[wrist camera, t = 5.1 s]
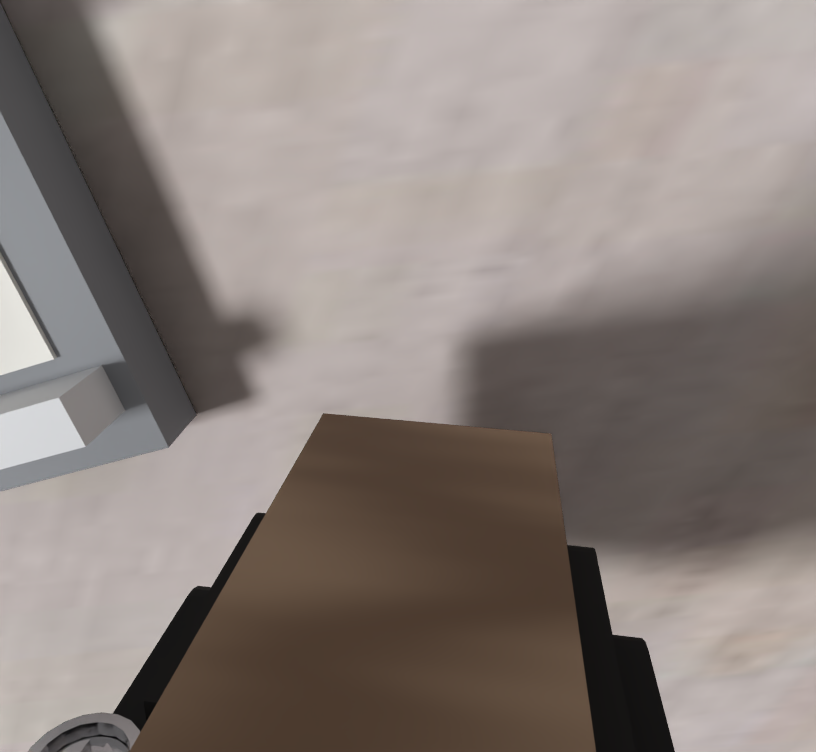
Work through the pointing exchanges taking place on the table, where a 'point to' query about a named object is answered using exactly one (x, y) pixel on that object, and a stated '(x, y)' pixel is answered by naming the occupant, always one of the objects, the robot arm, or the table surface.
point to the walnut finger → (393, 606)
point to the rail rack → (67, 309)
